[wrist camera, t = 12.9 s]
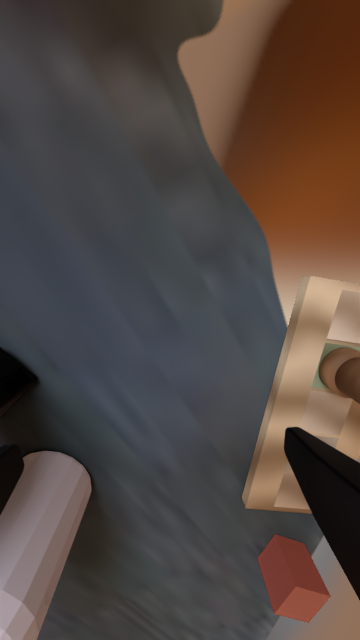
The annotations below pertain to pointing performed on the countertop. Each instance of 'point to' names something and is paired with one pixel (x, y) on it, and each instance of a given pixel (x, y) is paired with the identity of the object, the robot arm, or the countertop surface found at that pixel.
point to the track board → (306, 393)
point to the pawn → (342, 372)
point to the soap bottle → (38, 538)
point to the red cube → (292, 579)
